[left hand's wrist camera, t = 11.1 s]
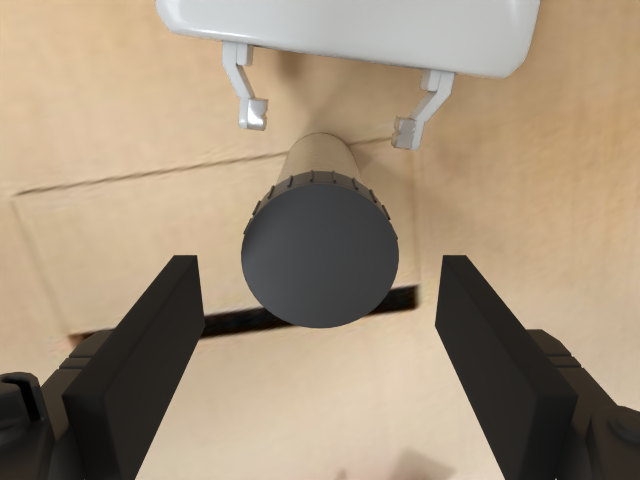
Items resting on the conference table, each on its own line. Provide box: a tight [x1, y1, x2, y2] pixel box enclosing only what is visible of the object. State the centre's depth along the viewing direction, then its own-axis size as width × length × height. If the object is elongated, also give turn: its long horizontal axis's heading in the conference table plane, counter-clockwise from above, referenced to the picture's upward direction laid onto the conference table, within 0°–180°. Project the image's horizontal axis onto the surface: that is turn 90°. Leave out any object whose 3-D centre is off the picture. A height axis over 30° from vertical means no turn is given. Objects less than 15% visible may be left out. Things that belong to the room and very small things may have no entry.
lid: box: [241, 170, 399, 328], centre depth 18 cm, size 6×6×2 cm
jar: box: [275, 133, 365, 186], centre depth 25 cm, size 5×5×17 cm
